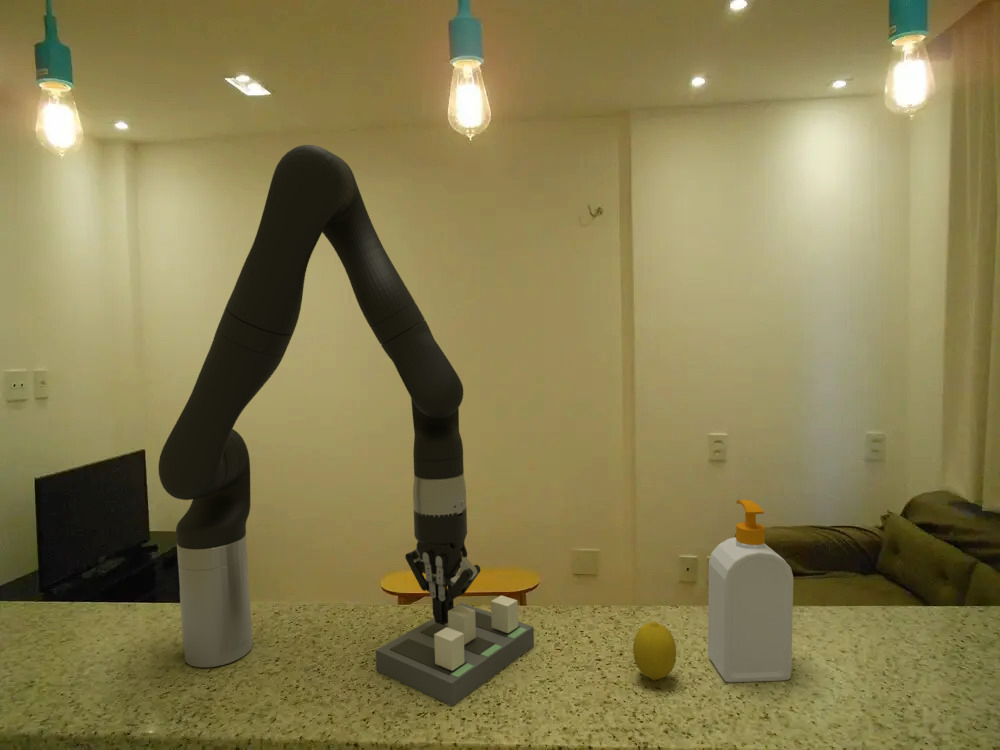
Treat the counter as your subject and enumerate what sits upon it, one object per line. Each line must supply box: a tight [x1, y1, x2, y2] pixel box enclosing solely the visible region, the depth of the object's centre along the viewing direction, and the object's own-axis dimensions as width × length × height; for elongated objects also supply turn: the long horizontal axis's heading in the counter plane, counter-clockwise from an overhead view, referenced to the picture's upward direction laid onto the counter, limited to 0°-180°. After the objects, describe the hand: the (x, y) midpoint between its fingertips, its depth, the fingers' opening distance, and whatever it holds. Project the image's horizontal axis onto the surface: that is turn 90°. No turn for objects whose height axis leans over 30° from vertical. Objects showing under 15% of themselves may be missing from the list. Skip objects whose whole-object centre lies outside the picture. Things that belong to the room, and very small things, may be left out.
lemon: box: [632, 620, 677, 681], centre depth 86 cm, size 6×6×8 cm
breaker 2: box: [490, 595, 519, 633], centre depth 94 cm, size 3×2×4 cm
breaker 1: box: [434, 627, 464, 671], centre depth 85 cm, size 3×2×4 cm
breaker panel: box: [375, 602, 535, 707], centre depth 92 cm, size 14×18×3 cm
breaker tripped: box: [448, 604, 476, 645], centre depth 91 cm, size 3×2×4 cm
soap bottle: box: [707, 499, 794, 683], centre depth 87 cm, size 9×7×23 cm
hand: (443, 621), depth 94 cm, fingers closed
